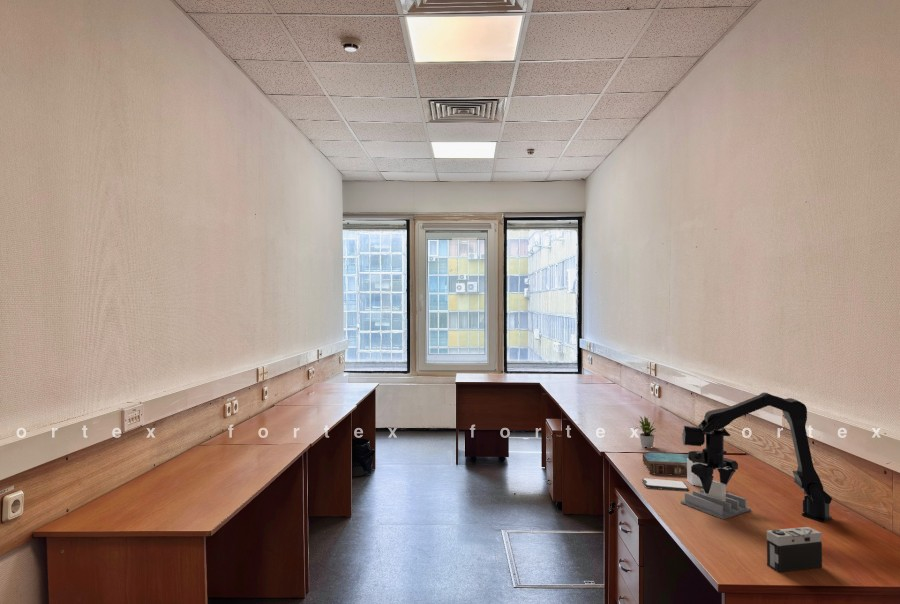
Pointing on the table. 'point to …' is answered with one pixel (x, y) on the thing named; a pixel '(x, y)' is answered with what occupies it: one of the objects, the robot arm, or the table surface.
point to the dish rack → (717, 504)
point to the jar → (691, 476)
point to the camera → (794, 549)
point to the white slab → (717, 491)
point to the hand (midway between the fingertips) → (714, 491)
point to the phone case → (664, 484)
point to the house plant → (646, 433)
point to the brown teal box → (666, 463)
